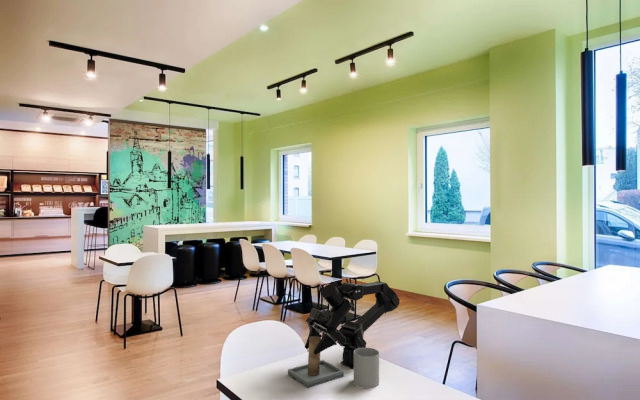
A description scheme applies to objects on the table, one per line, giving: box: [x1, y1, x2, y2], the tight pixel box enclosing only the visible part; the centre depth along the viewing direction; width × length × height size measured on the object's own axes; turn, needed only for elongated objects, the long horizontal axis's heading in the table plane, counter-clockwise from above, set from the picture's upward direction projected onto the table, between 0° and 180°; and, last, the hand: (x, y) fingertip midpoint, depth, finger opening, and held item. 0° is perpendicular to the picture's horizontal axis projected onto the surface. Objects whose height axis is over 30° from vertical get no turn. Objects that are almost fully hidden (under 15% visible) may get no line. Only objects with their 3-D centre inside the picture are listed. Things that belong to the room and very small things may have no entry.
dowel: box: [307, 336, 322, 376], centre depth 137 cm, size 4×4×12 cm
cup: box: [353, 347, 380, 389], centre depth 133 cm, size 8×8×10 cm
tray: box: [287, 359, 345, 389], centre depth 138 cm, size 15×12×2 cm
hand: (309, 350), depth 136 cm, fingers open, 6 cm apart
